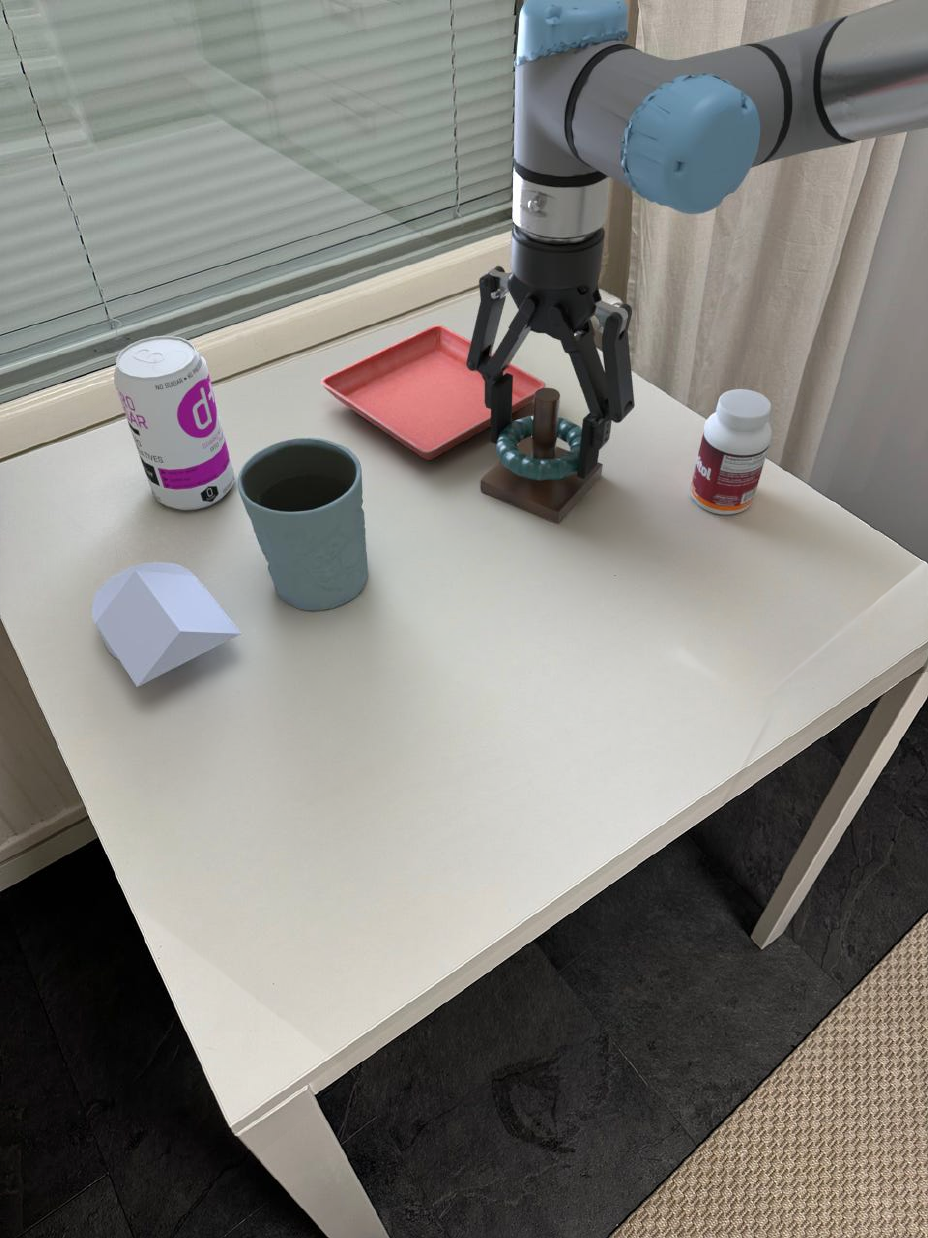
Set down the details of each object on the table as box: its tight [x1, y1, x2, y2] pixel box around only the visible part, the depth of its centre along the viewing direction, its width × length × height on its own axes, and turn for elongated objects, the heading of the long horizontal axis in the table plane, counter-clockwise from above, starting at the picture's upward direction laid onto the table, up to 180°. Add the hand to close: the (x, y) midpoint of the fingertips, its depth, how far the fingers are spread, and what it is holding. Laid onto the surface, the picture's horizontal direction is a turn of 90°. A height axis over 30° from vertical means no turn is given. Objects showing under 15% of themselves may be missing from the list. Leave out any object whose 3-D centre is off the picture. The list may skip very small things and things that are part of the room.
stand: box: [479, 387, 604, 524], centre depth 87 cm, size 9×9×10 cm
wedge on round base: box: [90, 561, 242, 688], centre depth 74 cm, size 9×7×13 cm
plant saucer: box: [320, 324, 546, 461], centre depth 99 cm, size 18×18×3 cm
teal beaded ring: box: [495, 415, 582, 481], centre depth 87 cm, size 9×9×2 cm
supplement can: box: [113, 335, 236, 511], centre depth 85 cm, size 8×8×15 cm
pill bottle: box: [690, 388, 773, 515], centre depth 85 cm, size 6×6×11 cm
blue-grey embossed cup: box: [237, 437, 368, 612], centre depth 77 cm, size 10×10×12 cm
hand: (543, 453), depth 88 cm, fingers closed on teal beaded ring, 9 cm apart
